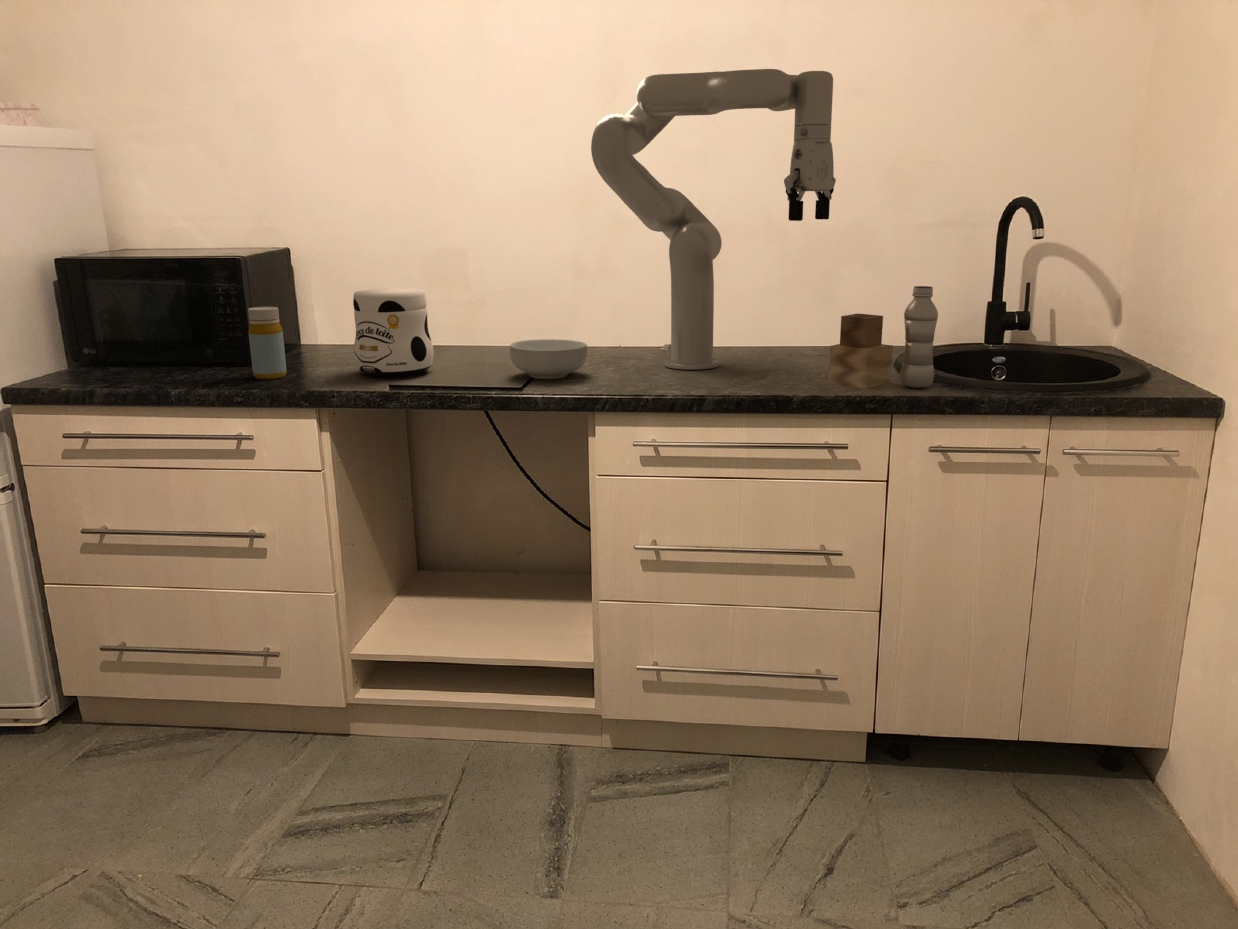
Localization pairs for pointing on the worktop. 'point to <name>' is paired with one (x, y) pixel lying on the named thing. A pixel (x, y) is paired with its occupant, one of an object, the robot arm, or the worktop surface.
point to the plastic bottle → (919, 339)
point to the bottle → (266, 343)
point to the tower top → (861, 356)
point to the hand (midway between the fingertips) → (808, 219)
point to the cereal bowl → (548, 357)
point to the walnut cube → (861, 330)
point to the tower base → (859, 376)
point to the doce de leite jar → (391, 332)
